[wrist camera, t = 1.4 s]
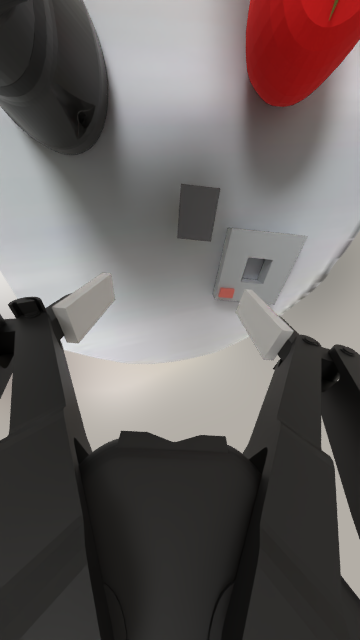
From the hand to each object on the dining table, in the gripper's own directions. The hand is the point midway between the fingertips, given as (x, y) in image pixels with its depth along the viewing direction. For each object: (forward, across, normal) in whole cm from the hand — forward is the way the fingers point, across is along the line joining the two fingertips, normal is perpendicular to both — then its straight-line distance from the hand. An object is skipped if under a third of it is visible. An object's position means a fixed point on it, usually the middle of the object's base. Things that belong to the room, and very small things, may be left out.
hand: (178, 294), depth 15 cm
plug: (+20, +2, +7) cm, 21 cm away
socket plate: (+20, +16, -1) cm, 25 cm away
